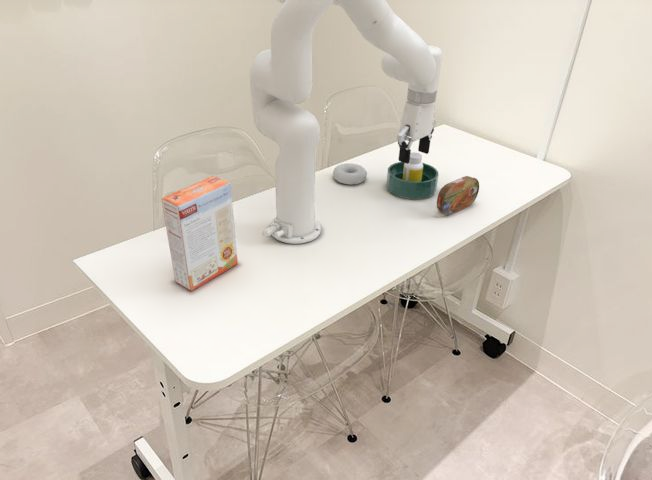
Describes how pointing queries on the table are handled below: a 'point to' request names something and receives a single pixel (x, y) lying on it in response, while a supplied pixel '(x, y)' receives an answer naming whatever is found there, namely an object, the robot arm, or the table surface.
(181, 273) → the cracker box
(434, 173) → the teal round bowl
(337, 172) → the donut
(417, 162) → the supplement bottle
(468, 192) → the tin
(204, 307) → the table surface
